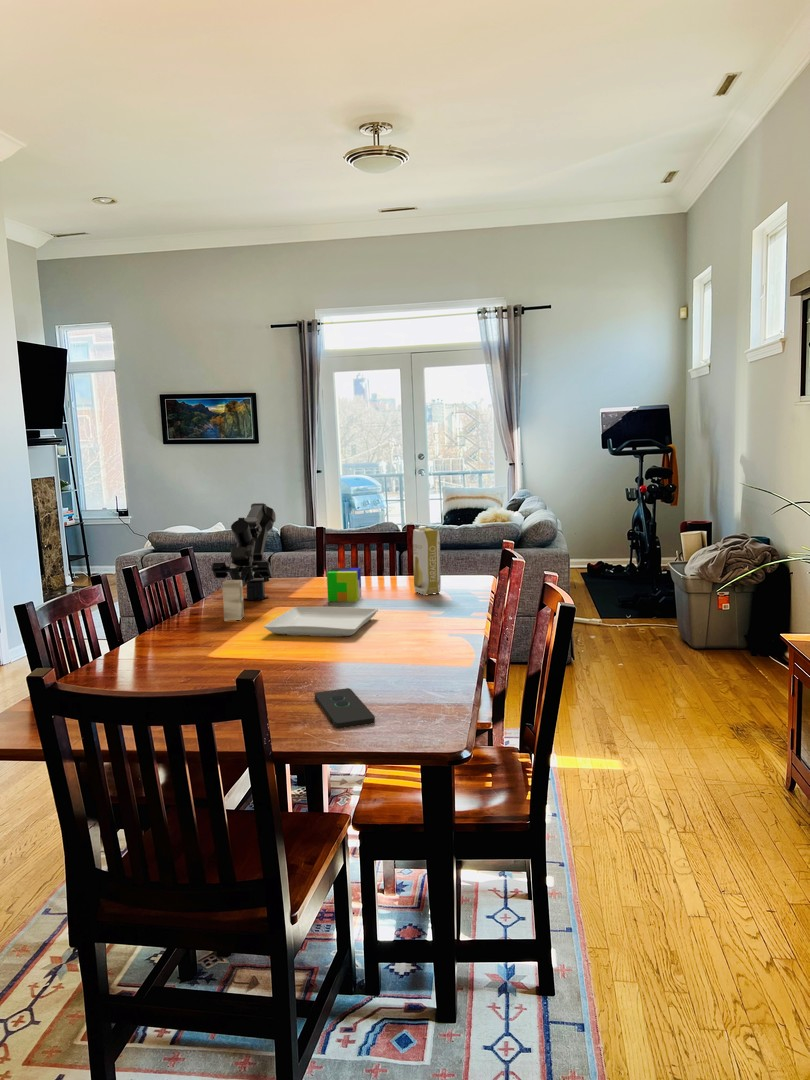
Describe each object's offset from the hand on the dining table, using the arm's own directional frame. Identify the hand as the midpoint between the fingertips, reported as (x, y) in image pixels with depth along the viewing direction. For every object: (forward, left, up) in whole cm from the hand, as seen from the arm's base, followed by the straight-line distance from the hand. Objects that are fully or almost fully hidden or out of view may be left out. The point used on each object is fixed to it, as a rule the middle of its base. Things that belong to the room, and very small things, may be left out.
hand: (238, 591), depth 252 cm
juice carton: (-50, +45, -8) cm, 67 cm away
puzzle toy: (-33, +21, -8) cm, 39 cm away
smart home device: (+67, +75, -8) cm, 101 cm away
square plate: (+6, +35, -8) cm, 36 cm away
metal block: (+6, +3, -8) cm, 10 cm away
